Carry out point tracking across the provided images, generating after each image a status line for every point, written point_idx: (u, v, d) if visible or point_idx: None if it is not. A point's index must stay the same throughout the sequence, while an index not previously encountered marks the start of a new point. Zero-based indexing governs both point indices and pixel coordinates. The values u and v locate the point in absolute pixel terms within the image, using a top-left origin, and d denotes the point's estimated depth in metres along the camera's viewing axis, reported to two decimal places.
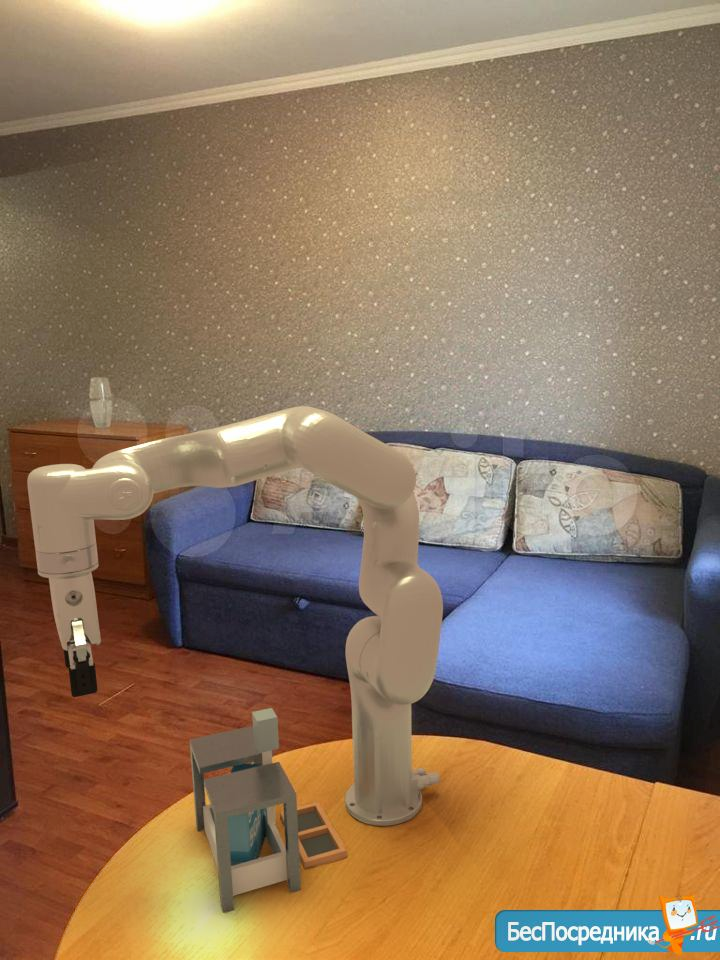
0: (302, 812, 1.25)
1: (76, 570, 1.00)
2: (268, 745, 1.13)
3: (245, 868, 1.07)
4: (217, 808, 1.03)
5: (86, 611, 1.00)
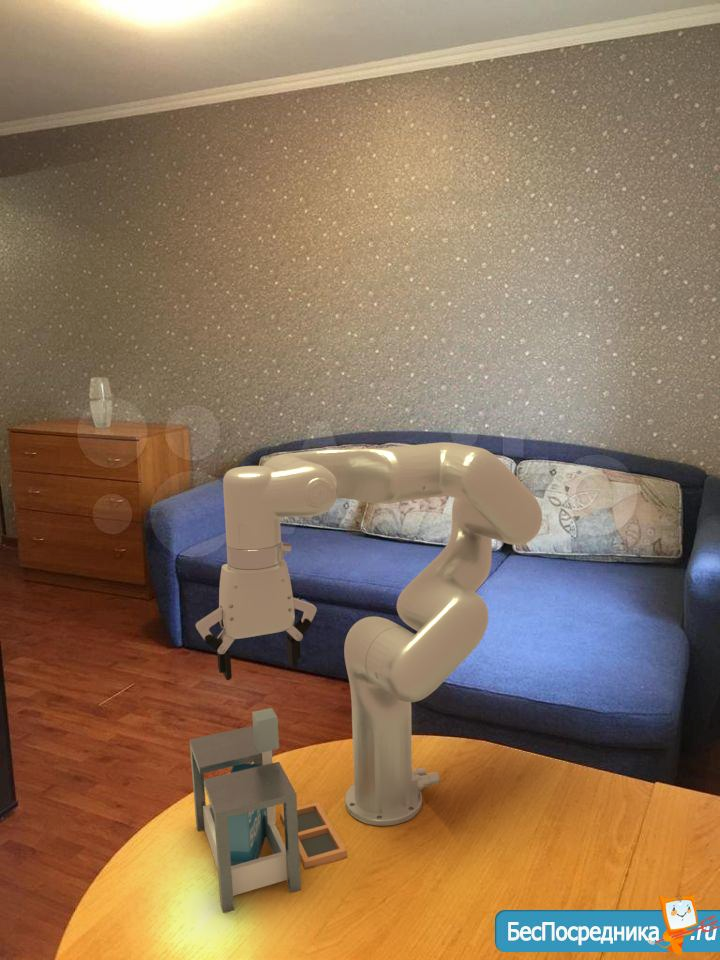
0: (302, 812, 1.25)
1: None
2: (268, 745, 1.13)
3: (245, 868, 1.07)
4: (217, 808, 1.03)
5: None
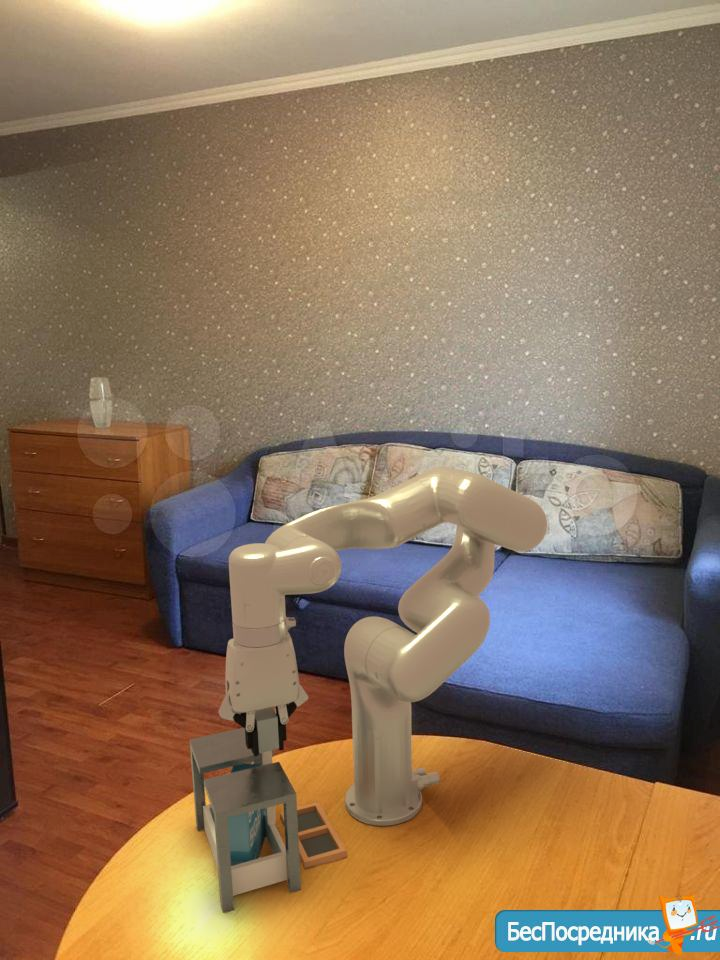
0: (302, 812, 1.25)
1: None
2: (268, 745, 1.13)
3: (245, 868, 1.07)
4: (217, 808, 1.03)
5: None
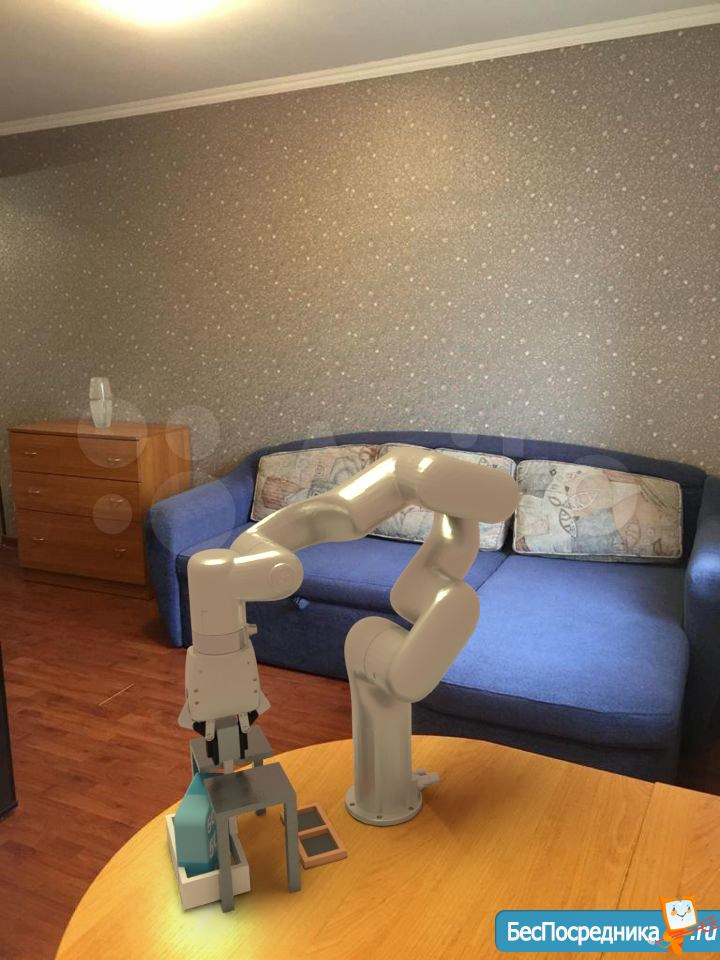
0: (302, 812, 1.25)
1: None
2: (229, 754, 1.11)
3: (203, 880, 1.05)
4: (217, 808, 1.03)
5: None
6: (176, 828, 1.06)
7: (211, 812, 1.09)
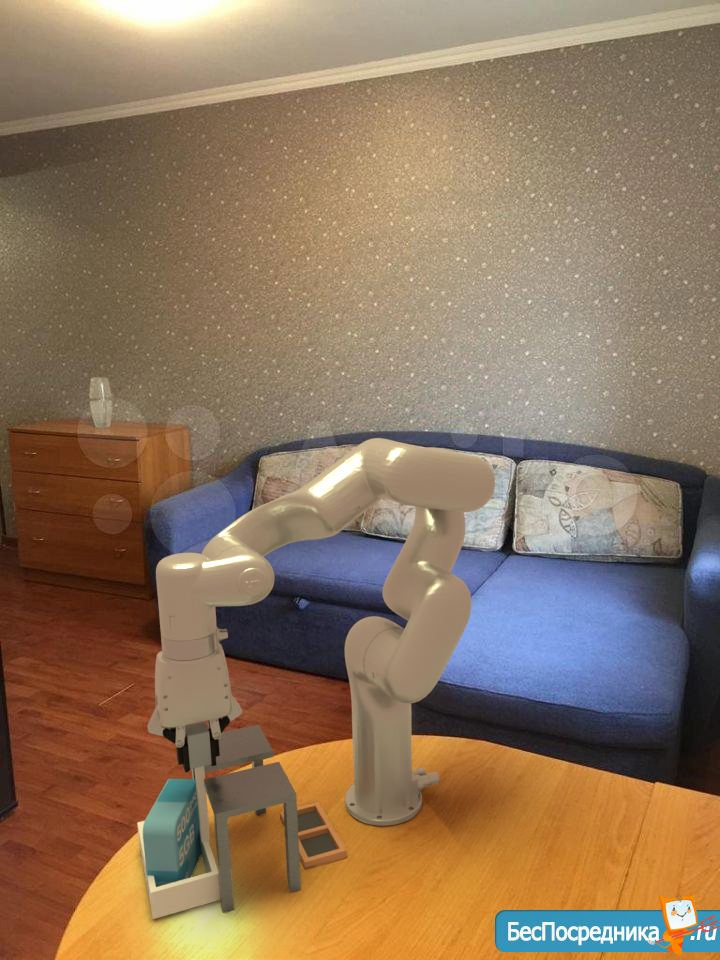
0: (302, 812, 1.25)
1: None
2: (200, 761, 1.09)
3: (172, 889, 1.04)
4: (217, 808, 1.03)
5: None
6: (145, 836, 1.05)
7: (181, 820, 1.07)
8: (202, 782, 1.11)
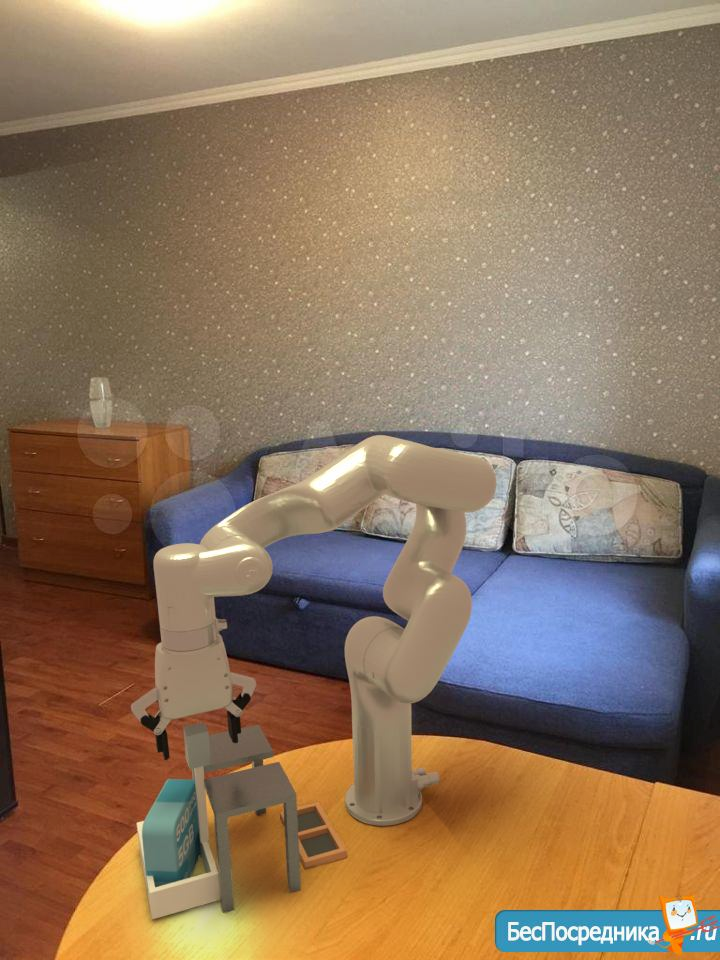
0: (302, 812, 1.25)
1: None
2: (199, 761, 1.09)
3: (172, 889, 1.04)
4: (217, 808, 1.03)
5: None
6: (144, 836, 1.05)
7: (180, 820, 1.07)
8: (201, 782, 1.11)
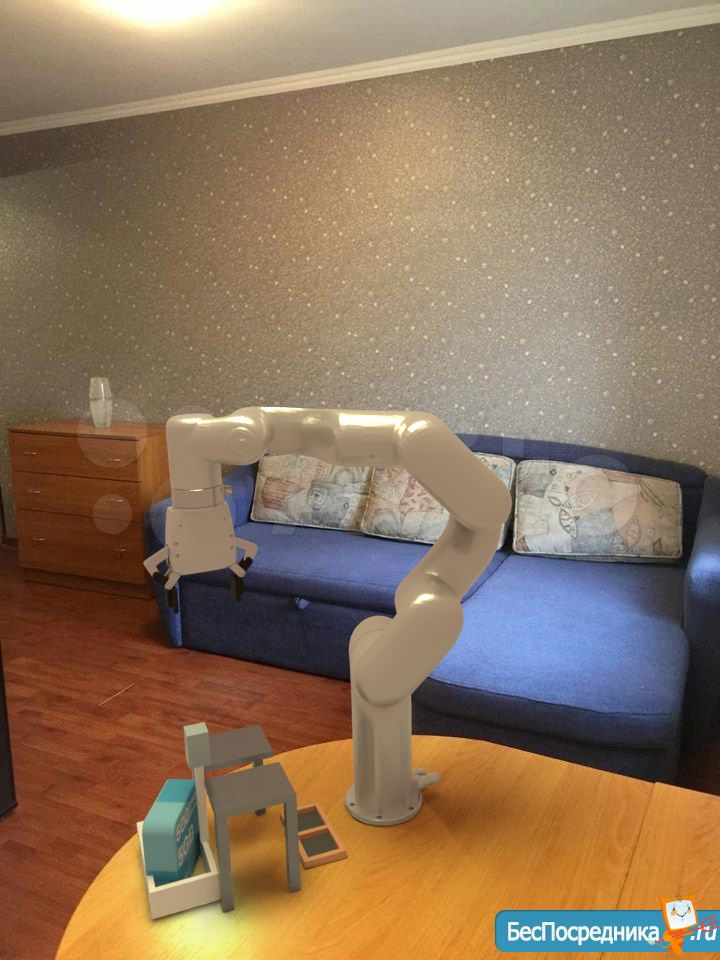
0: (302, 812, 1.25)
1: None
2: (199, 761, 1.09)
3: (172, 889, 1.04)
4: (217, 808, 1.03)
5: None
6: (144, 836, 1.05)
7: (180, 820, 1.07)
8: (201, 782, 1.11)
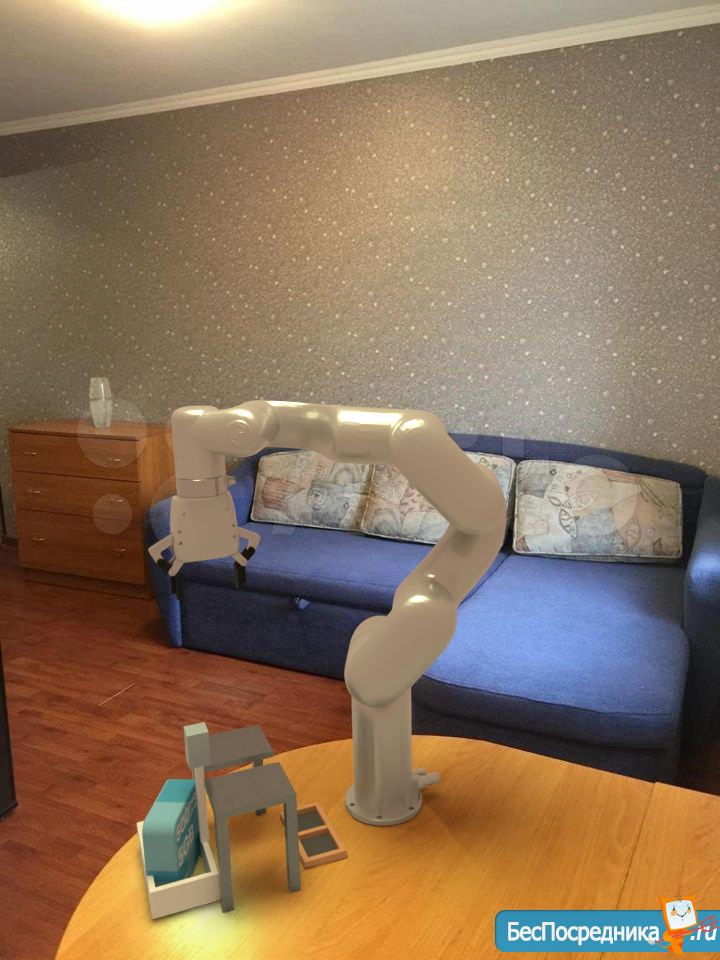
0: (302, 812, 1.25)
1: None
2: (199, 761, 1.09)
3: (172, 889, 1.04)
4: (217, 808, 1.03)
5: None
6: (144, 836, 1.05)
7: (180, 820, 1.07)
8: (201, 782, 1.11)
